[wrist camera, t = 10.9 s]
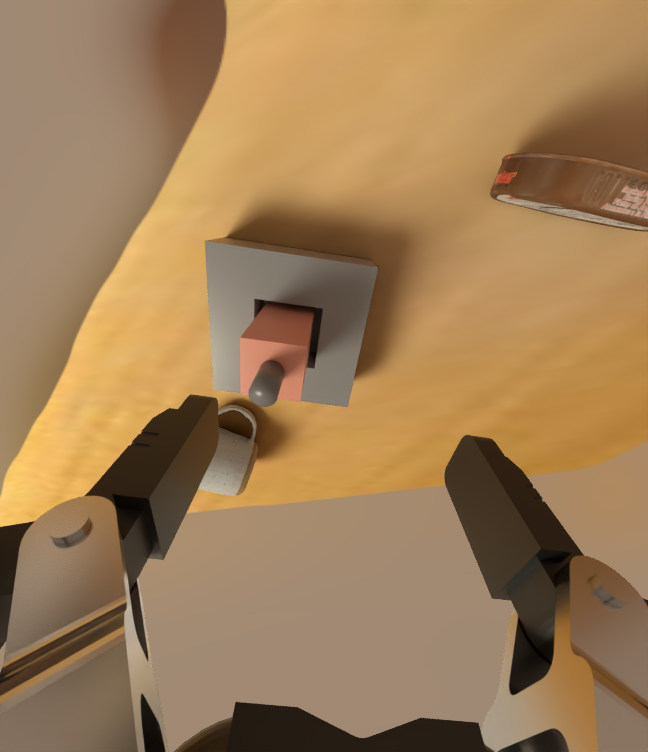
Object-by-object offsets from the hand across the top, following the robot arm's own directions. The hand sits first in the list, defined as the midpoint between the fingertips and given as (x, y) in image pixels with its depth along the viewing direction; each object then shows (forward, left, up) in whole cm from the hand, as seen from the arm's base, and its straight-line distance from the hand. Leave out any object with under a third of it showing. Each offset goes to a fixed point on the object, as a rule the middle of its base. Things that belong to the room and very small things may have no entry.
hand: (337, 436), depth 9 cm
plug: (+4, -4, -21) cm, 22 cm away
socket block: (+4, -4, -22) cm, 23 cm away
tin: (-10, +18, -23) cm, 31 cm away
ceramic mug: (+21, -11, -23) cm, 33 cm away
